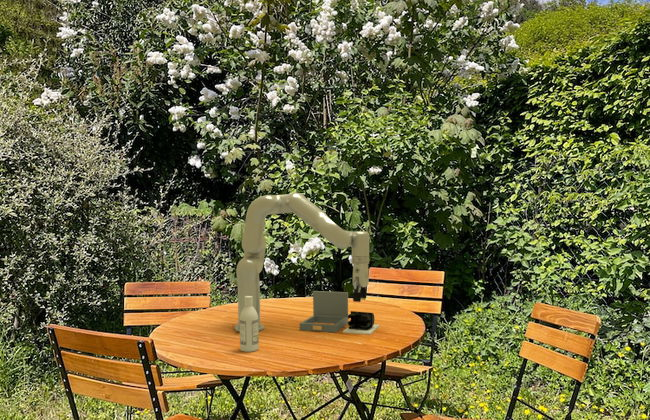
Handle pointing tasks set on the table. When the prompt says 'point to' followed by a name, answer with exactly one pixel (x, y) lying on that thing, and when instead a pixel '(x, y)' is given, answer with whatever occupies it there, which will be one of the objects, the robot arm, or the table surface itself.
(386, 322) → the table surface
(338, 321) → the equipment case
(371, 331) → the grey mat
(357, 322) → the end cap
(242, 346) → the bath foam
